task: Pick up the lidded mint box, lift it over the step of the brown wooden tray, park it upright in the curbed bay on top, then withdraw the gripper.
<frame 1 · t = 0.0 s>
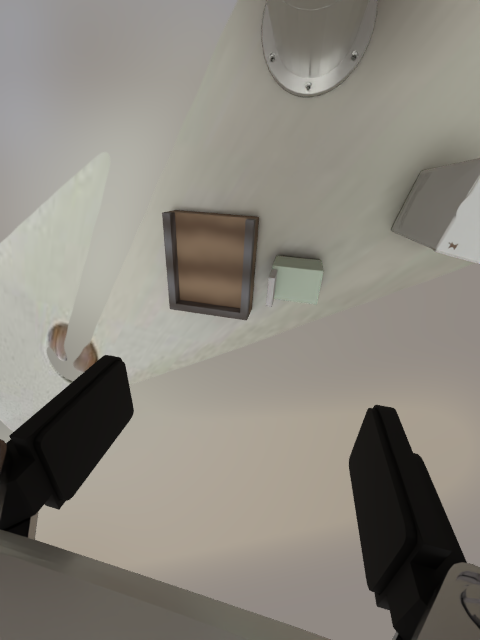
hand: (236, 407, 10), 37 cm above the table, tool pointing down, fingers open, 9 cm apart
skincare box: (425, 206, 37), on the table
brown wooden tray: (215, 262, 47), on the table
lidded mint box: (296, 271, 44), on the table
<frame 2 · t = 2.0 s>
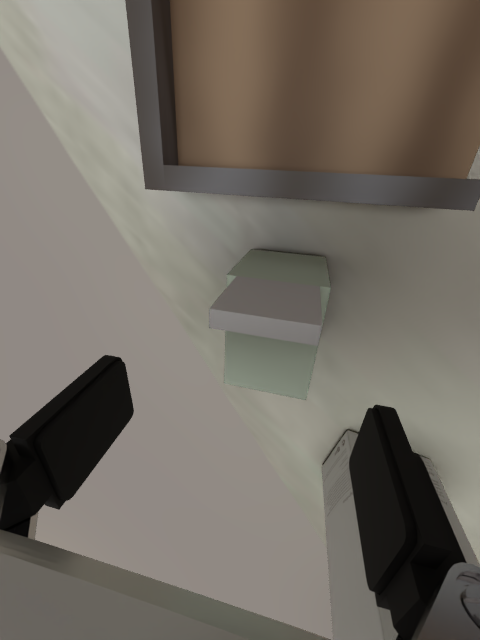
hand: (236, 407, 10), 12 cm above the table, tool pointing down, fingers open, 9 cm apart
skincare box: (374, 459, 26), on the table
brown wooden tray: (315, 49, 14), on the table
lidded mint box: (282, 294, 21), on the table
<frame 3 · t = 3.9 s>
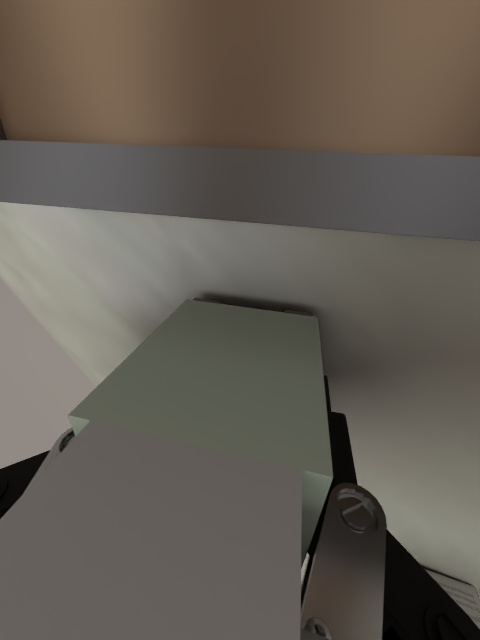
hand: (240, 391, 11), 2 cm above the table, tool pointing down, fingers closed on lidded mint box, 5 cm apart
skincare box: (390, 575, 18), on the table
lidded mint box: (249, 364, 13), on the table, touching gripper
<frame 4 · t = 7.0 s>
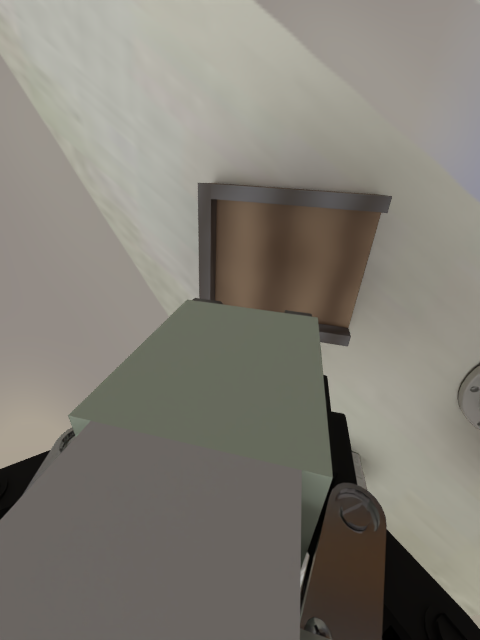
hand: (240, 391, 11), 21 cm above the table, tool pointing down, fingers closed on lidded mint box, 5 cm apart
skincare box: (327, 454, 42), on the table
brown wooden tray: (282, 258, 29), on the table
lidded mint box: (249, 364, 13), point 19 cm above the table, touching gripper
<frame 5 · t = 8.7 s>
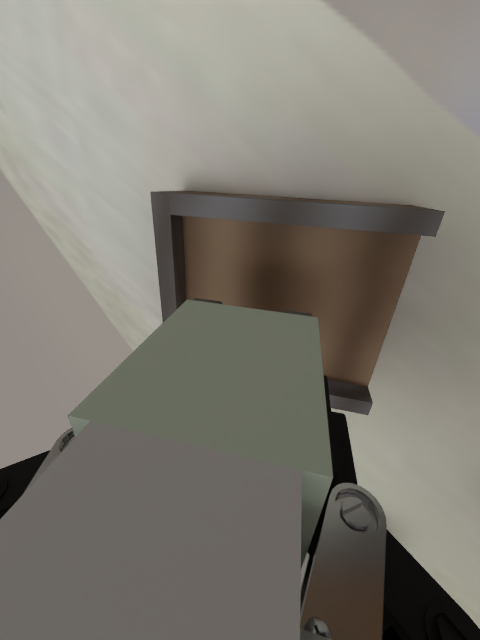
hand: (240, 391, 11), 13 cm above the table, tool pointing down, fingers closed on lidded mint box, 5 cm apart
brown wooden tray: (277, 290, 22), on the table
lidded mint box: (249, 364, 13), point 11 cm above the table, touching gripper
when the fingers open (6 cm above the table, at t = 10.3 s): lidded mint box drops 1 cm, resting on brown wooden tray.
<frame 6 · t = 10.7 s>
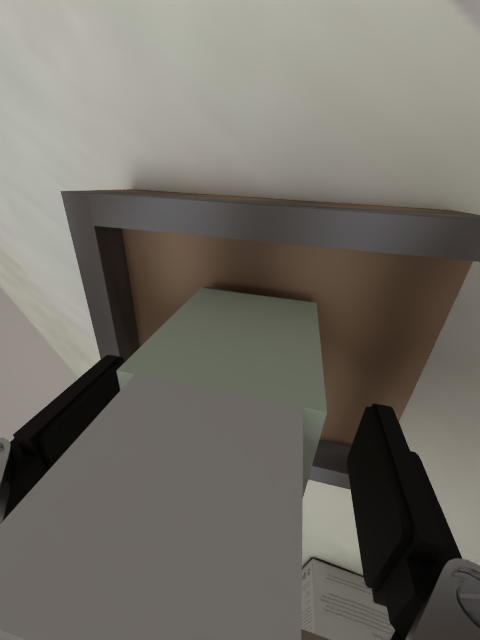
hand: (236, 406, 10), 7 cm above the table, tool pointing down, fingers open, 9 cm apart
skincare box: (338, 578, 29), on the table
brown wooden tray: (262, 321, 17), on the table
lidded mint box: (254, 348, 14), point 3 cm above the table, touching brown wooden tray
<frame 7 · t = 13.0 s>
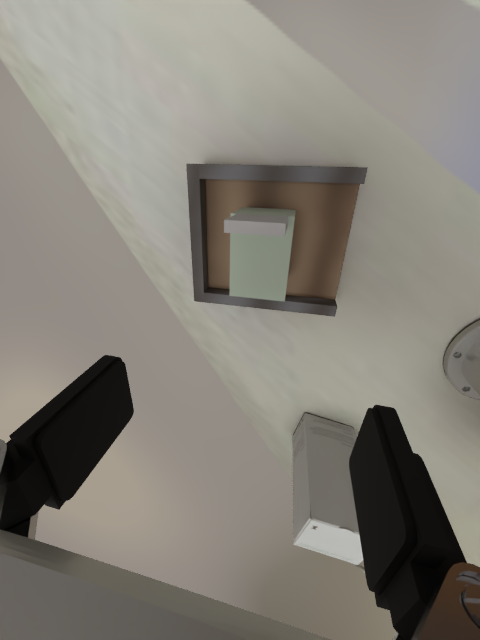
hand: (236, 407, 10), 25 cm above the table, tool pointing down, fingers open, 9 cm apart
skincare box: (322, 430, 43), on the table
brown wooden tray: (270, 237, 31), on the table
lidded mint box: (268, 242, 28), point 3 cm above the table, touching brown wooden tray
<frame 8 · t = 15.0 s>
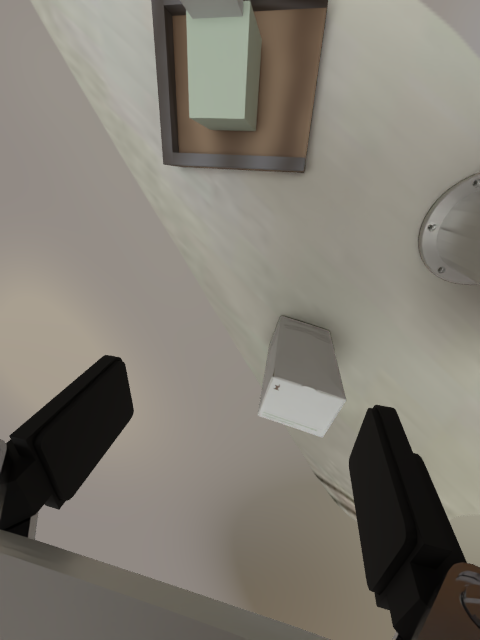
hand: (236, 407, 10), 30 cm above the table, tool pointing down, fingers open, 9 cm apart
skincare box: (299, 337, 43), on the table
brown wooden tray: (242, 99, 30), on the table
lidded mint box: (236, 91, 28), point 3 cm above the table, touching brown wooden tray
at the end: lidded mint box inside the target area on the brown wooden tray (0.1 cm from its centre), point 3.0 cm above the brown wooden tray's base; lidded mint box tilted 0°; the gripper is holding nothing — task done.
